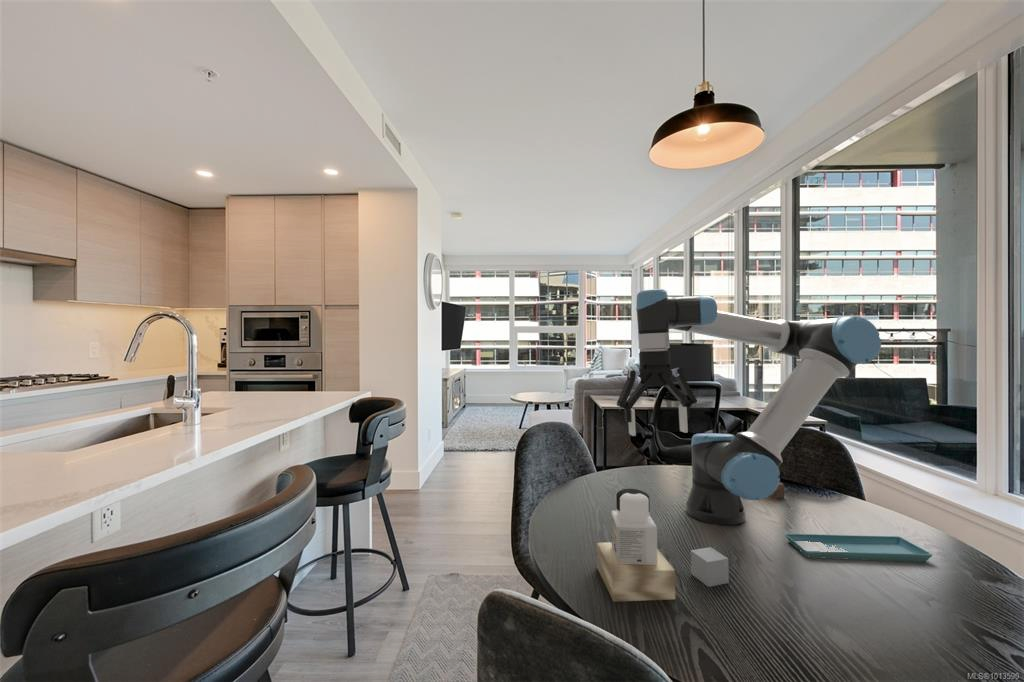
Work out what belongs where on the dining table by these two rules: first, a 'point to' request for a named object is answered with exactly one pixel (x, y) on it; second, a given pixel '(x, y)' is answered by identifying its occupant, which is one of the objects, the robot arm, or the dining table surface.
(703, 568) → the slate cube
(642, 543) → the container
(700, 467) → the robot arm
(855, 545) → the teal serving tray
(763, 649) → the dining table surface
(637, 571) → the maple block
